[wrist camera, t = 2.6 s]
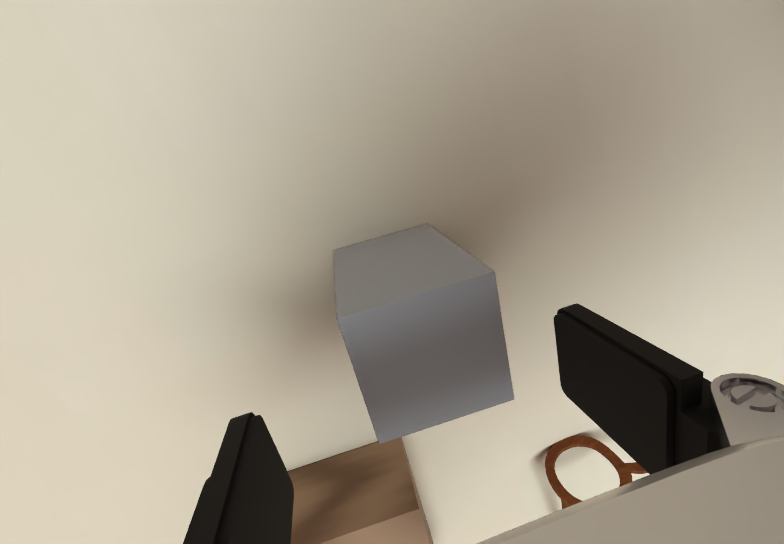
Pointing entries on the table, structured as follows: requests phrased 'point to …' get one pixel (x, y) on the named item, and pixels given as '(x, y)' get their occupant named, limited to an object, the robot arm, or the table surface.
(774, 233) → the table surface
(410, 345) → the grey block
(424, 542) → the block
